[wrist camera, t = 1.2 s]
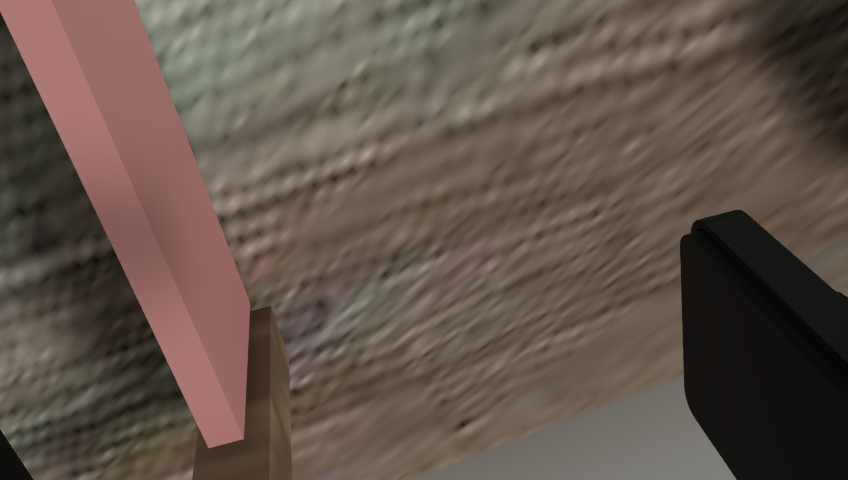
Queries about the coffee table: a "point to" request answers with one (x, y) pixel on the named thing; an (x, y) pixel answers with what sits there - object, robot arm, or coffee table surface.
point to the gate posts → (257, 414)
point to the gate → (144, 192)
